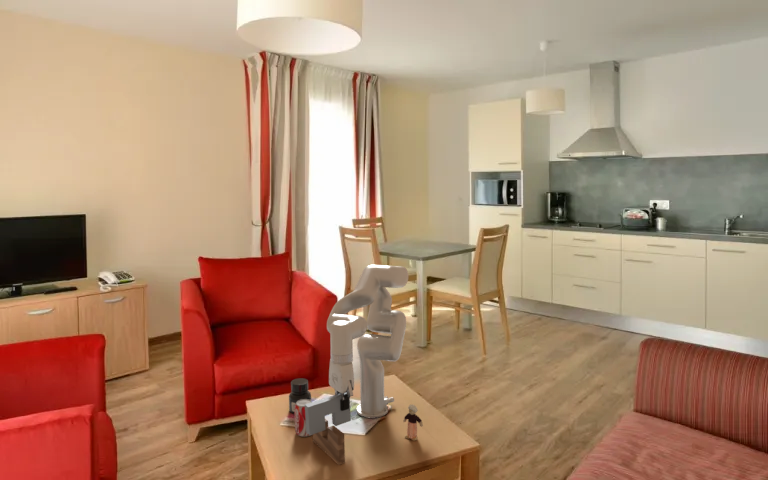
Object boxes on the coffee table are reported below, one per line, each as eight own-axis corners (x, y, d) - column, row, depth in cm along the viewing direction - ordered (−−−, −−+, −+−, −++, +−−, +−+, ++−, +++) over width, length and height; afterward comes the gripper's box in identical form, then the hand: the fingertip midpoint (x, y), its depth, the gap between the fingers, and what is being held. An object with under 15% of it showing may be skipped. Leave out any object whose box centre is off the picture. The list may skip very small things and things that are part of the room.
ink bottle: (292, 417, 202) (291, 388, 201) (285, 408, 210) (284, 380, 208) (315, 411, 207) (315, 383, 206) (307, 402, 215) (307, 375, 213)
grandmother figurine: (400, 438, 186) (400, 405, 184) (404, 433, 189) (404, 401, 187) (421, 442, 183) (421, 408, 181) (424, 437, 186) (424, 404, 185)
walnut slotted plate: (319, 439, 186) (318, 413, 184) (344, 462, 171) (344, 433, 170) (313, 441, 184) (312, 415, 183) (338, 464, 170) (337, 436, 168)
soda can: (310, 439, 186) (309, 407, 184) (292, 437, 187) (291, 405, 186) (317, 429, 193) (316, 399, 191) (299, 427, 194) (298, 397, 193)
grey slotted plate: (309, 435, 171) (308, 407, 170) (306, 432, 173) (304, 404, 172) (350, 420, 180) (349, 393, 179) (347, 418, 182) (346, 391, 181)
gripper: (320, 352, 181) (321, 402, 183) (344, 366, 168) (345, 420, 170) (339, 348, 185) (340, 397, 188) (363, 361, 172) (364, 413, 175)
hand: (342, 407), depth 179 cm, fingers closed on grey slotted plate, 2 cm apart
